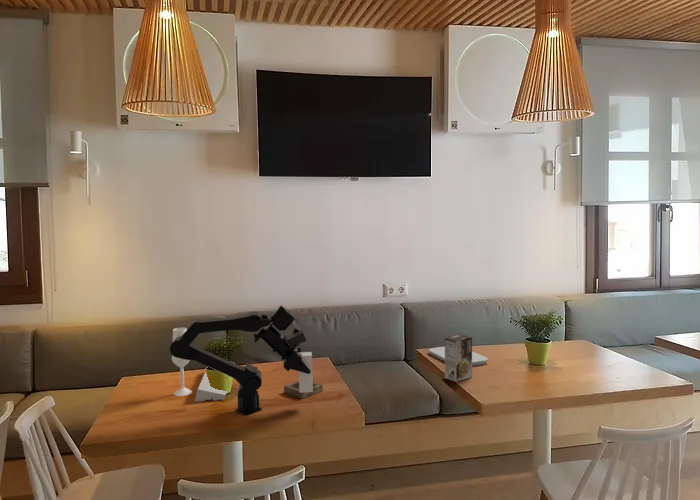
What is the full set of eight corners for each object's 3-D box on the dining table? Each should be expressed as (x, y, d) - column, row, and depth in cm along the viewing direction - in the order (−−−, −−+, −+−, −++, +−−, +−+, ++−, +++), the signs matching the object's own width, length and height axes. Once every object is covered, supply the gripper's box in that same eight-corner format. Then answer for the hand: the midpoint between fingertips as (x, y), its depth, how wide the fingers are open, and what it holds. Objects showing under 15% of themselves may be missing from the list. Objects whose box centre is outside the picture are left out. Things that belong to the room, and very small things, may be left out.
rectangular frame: (302, 398, 200) (302, 392, 200) (284, 392, 207) (283, 386, 207) (322, 391, 208) (322, 384, 207) (304, 385, 214) (303, 379, 214)
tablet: (457, 369, 231) (457, 364, 231) (426, 353, 255) (426, 348, 255) (490, 364, 237) (490, 359, 237) (457, 349, 261) (457, 344, 261)
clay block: (299, 392, 190) (298, 356, 189) (299, 388, 194) (298, 352, 193) (313, 391, 190) (312, 355, 189) (312, 387, 195) (311, 351, 194)
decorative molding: (231, 377, 235) (207, 372, 234) (234, 366, 235) (210, 361, 234) (222, 407, 201) (194, 402, 200) (225, 395, 201) (197, 389, 200)
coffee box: (460, 373, 225) (460, 333, 223) (472, 377, 220) (472, 336, 218) (444, 378, 220) (443, 337, 218) (456, 382, 214) (456, 340, 213)
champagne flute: (172, 396, 205) (169, 331, 203) (174, 390, 212) (171, 327, 210) (191, 395, 207) (188, 330, 204) (193, 389, 213) (190, 326, 211)
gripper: (292, 329, 180) (328, 361, 183) (291, 317, 199) (323, 346, 201) (268, 355, 180) (304, 386, 183) (269, 340, 199) (302, 369, 201)
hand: (309, 370), depth 192 cm, fingers closed on clay block, 4 cm apart
